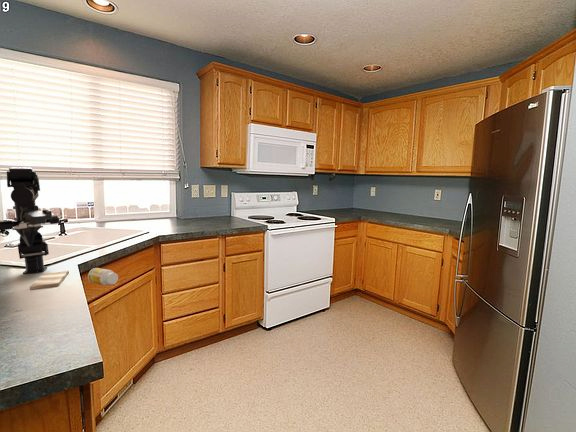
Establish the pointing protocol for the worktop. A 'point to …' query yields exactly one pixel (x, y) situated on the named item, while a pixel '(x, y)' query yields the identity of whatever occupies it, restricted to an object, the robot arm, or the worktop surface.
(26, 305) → the worktop surface
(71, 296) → the worktop surface
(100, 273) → the supplement bottle
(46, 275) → the beige rectangular board
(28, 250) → the robot arm
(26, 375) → the worktop surface
